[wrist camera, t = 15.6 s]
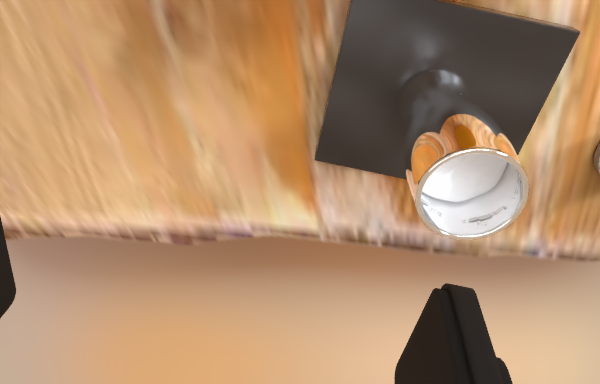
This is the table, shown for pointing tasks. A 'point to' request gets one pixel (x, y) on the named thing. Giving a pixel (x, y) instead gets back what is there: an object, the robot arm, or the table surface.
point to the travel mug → (597, 159)
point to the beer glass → (458, 160)
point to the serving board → (428, 56)
